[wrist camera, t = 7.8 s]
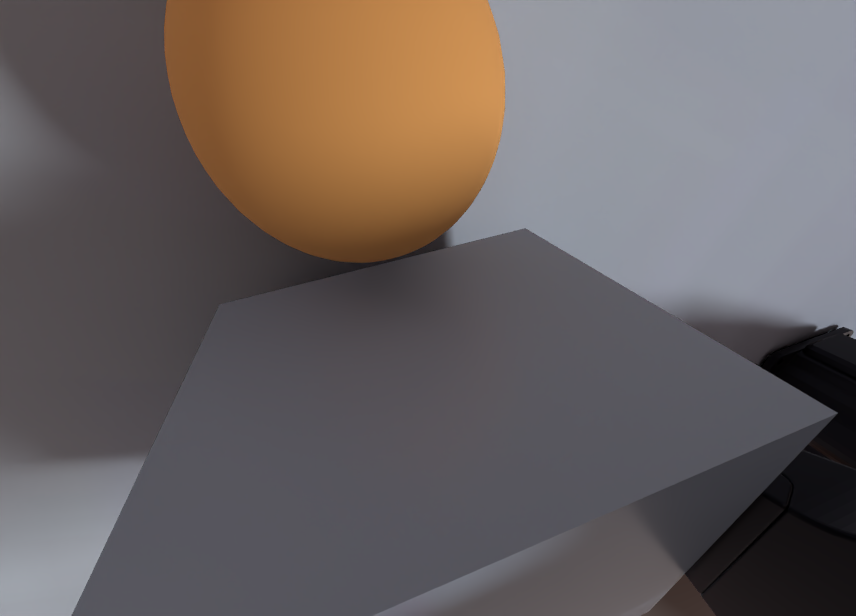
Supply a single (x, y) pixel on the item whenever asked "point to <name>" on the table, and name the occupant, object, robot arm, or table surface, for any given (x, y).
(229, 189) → the ball
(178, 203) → the table surface
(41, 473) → the table surface
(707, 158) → the table surface
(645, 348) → the grey block
